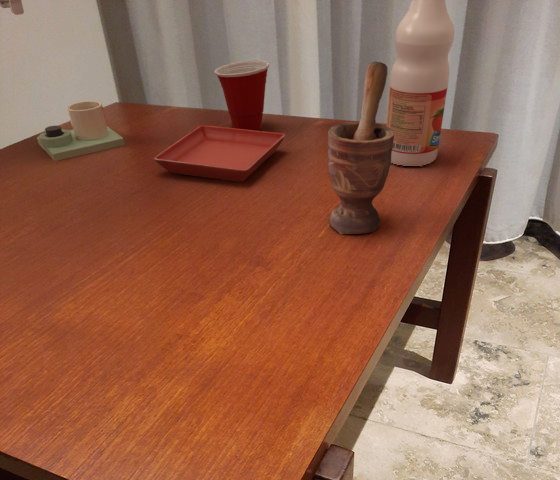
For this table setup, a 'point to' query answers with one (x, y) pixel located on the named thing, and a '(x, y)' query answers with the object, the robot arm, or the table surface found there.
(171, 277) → the table surface
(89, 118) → the ramekin
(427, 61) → the fruit juice
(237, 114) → the plastic cup
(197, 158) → the plant saucer
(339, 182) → the mortar and pestle
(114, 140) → the scale
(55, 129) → the button
